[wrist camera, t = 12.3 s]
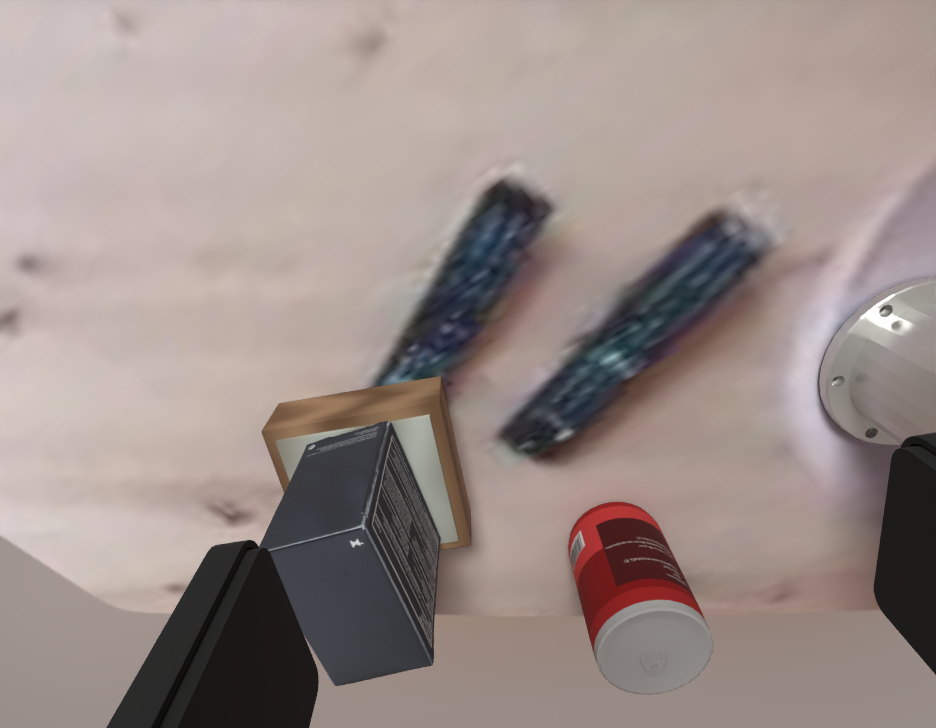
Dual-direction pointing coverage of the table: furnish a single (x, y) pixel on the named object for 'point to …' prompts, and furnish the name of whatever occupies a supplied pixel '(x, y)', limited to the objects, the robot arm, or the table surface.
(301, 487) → the small box
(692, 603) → the canned food
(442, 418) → the wooden box
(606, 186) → the table surface
